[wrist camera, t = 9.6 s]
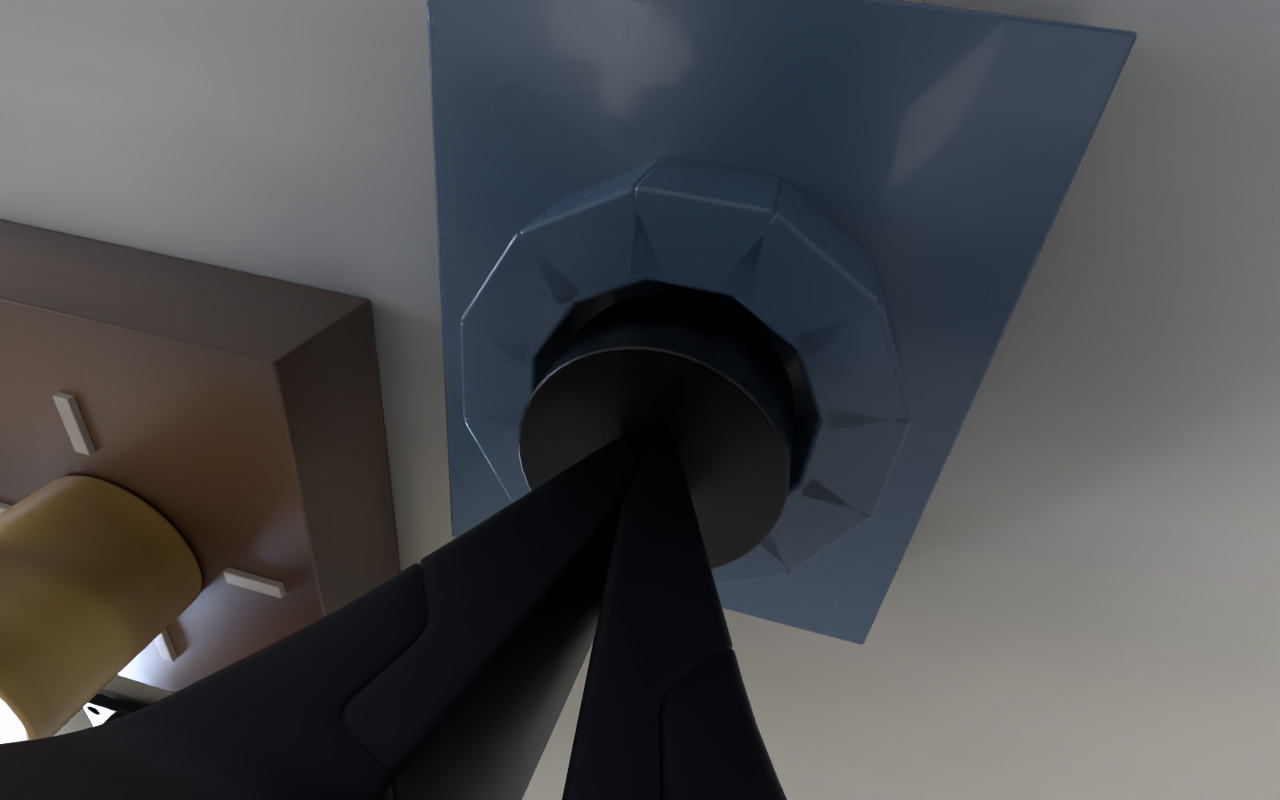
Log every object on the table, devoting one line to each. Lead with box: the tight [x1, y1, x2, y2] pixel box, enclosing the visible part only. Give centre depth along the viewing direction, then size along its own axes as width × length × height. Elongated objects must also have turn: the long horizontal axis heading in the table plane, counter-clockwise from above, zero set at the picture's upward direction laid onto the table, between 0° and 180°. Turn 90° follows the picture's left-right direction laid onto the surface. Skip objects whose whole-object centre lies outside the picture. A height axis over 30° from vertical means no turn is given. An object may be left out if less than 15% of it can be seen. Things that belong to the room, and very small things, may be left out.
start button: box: [518, 294, 794, 570], centre depth 9 cm, size 4×4×2 cm
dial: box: [0, 475, 202, 744], centre depth 14 cm, size 4×4×4 cm
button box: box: [427, 0, 1137, 644], centre depth 11 cm, size 11×9×4 cm
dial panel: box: [0, 220, 400, 693], centre depth 17 cm, size 12×10×3 cm
